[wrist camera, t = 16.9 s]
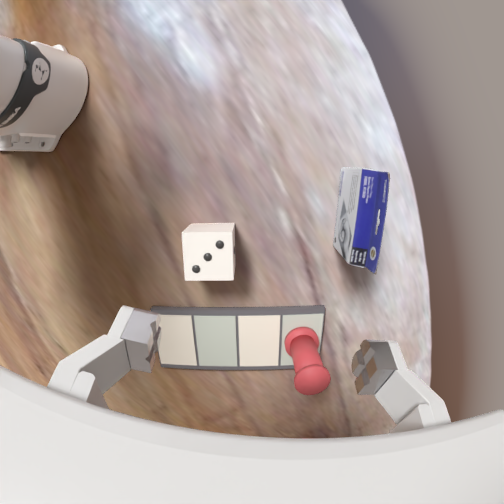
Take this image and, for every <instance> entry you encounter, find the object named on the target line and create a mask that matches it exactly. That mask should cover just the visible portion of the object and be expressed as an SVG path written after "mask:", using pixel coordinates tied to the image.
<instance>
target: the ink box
mask: <svg viewBox="0 0 504 504" xmlns="http://www.w3.org/2000/svg"><path fill="white" fill-rule="evenodd" d="M389 182H390V174H389V172H380V171H378V170H374V169H369V168H349V167H342V168H341V175H340V186H339V198H338V208H337V217H336V226H335V233H334V242H333V246H334V247H335V248H336V250H337V251H338V252H339V253H340V254H341V256H342V257H343V258H344V259H345V260H346V262H347V263H348V264H349V265H352V266H357V267H361V268H365V267H366V268H368V269H369V270H370V271H371V272H373V273H374V274H376V271H377V265H378V259H379V253H380V247H381V242H382V236H383V230H384V224H385V217H386V210H387V201H388V192H389ZM379 209H380V216H379V219H380V224H379V226H378V231H377V235H375V231H376V224H377V217H378V210H379Z"/></svg>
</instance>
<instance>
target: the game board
mask: <svg viewBox="0 0 504 504" xmlns="http://www.w3.org/2000/svg"><path fill="white" fill-rule="evenodd" d="M151 312H155V313H159V314H160V317H161V321H160V324H159V326H160V327H161V341H160V346H159V349H158V354H159V359H160V364H161V367H167V368H183V369H208V370H270V369H294V364H293V359H292V357H291V356H289V355H288V353H287V352H286V349H285V344H284V341H285V337H286V335H287V334H288V333H289V332H290V331H291V330H293V329H295V328H297V327H309V328H311V329H313V330H314V331H315V332H316V334H317V336H318V339H319V347H318V349H317V350H318V352H319V355H320V350H321V342H322V334H323V325H324V315H325V307H324V305H315V306H286V307H164V306H152V307H151Z"/></svg>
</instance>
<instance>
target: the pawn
mask: <svg viewBox="0 0 504 504" xmlns="http://www.w3.org/2000/svg"><path fill="white" fill-rule="evenodd" d="M284 344H285V349H286V352H287V353H288V355H289V356H291V357H292V359H293V364H294V369H295V373H296V375H295V377H294V384H295V388H296V390H297V391H298V392H300V393H301V394H304V395H314V394H318V393H320V392H322V391H323V390H325V389H326V388H327V387H328V385H329V383H330V380H331V378H330V374H329V371H328V370H327V368H325V367H324V366H323V364H322V361H321V358H320V355H319V352H318V350H317V349H318V347H319V339H318V336H317V334H316V332H315V331H314V330H313V329H311V328H309V327H297V328H295V329H293V330H291V331H290V332H289V333H288V334H287V335H286V337H285V341H284Z"/></svg>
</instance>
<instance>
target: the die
mask: <svg viewBox="0 0 504 504" xmlns="http://www.w3.org/2000/svg"><path fill="white" fill-rule="evenodd" d="M182 246H183V260H184V273H185V281H230V280H234V274H235V266H236V261H235V223H199V224H190V225H189V226H188V227H187V228H186V229H185V230H184V231H183V232H182Z"/></svg>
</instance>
